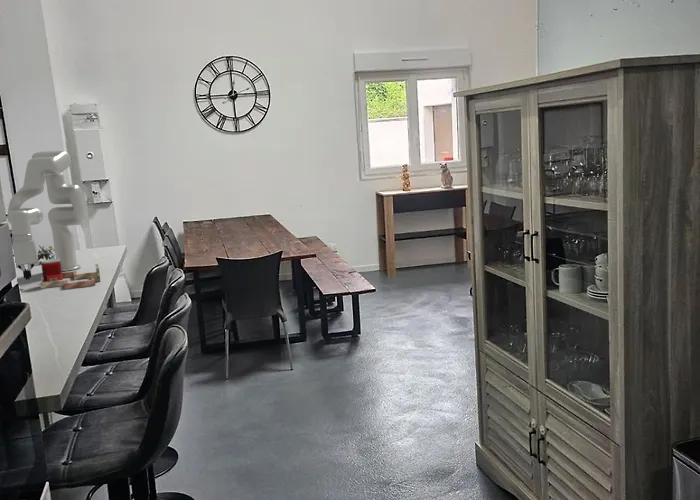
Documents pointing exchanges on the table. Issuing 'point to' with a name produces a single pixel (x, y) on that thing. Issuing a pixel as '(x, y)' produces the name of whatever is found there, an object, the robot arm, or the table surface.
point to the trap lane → (93, 275)
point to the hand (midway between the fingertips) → (27, 279)
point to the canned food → (51, 270)
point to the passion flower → (46, 253)
